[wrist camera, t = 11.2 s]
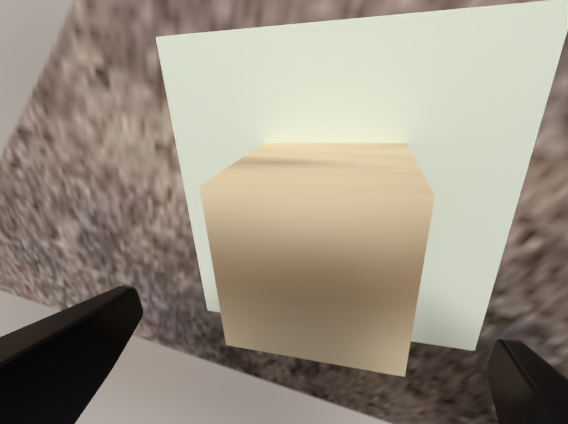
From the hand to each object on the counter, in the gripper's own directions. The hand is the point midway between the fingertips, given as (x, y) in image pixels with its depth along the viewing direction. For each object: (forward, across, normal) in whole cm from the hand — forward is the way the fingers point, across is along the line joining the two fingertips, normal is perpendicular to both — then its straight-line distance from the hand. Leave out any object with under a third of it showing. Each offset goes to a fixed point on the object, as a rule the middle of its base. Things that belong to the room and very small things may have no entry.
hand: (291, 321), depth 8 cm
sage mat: (+8, 0, 0) cm, 8 cm away
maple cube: (+8, 0, 0) cm, 8 cm away
